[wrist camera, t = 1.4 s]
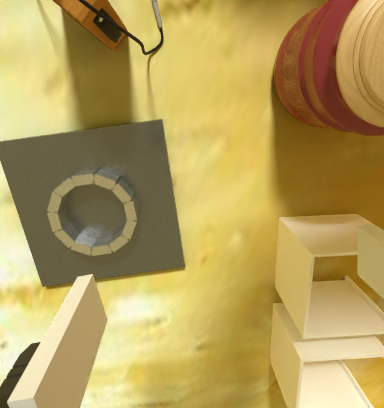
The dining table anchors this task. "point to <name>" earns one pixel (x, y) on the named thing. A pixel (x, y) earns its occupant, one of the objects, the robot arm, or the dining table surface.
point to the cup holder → (95, 201)
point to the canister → (335, 67)
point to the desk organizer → (320, 315)
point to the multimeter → (104, 20)
